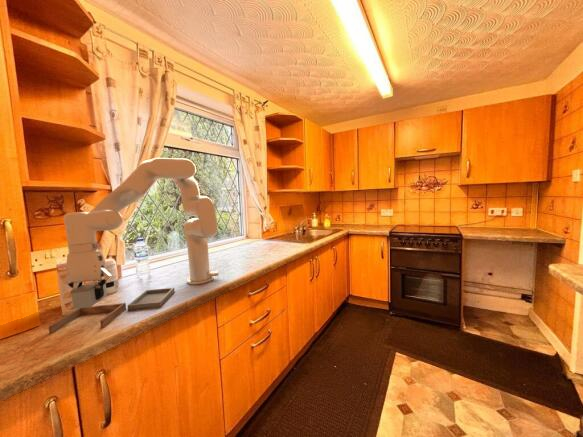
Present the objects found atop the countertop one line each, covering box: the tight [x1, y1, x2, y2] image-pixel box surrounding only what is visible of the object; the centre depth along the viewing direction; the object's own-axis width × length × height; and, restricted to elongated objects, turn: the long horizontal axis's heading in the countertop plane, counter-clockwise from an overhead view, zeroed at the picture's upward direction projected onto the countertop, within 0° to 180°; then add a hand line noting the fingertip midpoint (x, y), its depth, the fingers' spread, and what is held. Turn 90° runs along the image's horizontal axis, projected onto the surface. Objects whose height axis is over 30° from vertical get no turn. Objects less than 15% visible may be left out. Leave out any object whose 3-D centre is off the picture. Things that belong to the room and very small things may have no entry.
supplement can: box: [102, 258, 120, 295], centre depth 110 cm, size 8×8×15 cm
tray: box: [126, 287, 175, 312], centre depth 98 cm, size 12×16×2 cm
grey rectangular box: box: [71, 281, 108, 309], centre depth 83 cm, size 5×9×6 cm, turn 9°
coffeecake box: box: [55, 256, 85, 317], centre depth 94 cm, size 15×7×20 cm, turn 45°
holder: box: [48, 302, 127, 335], centre depth 83 cm, size 16×14×2 cm
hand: (90, 298), depth 83 cm, fingers closed on grey rectangular box, 5 cm apart
